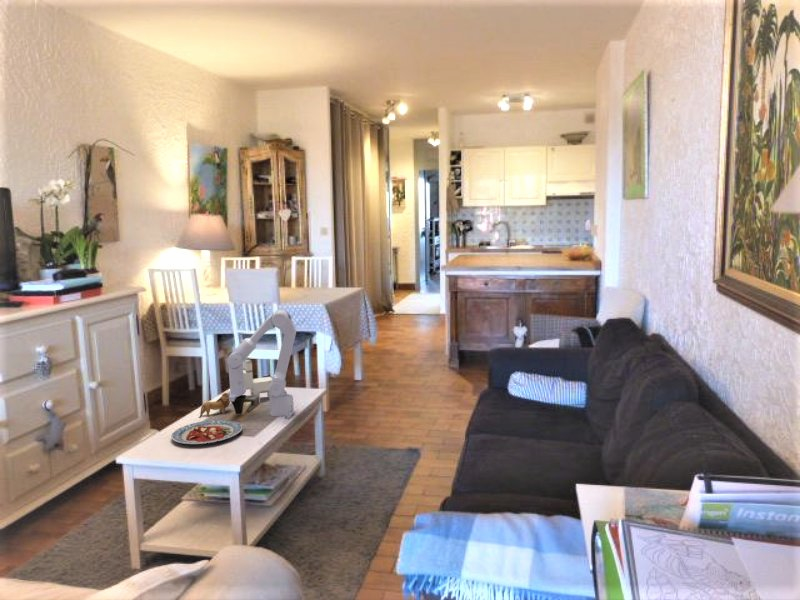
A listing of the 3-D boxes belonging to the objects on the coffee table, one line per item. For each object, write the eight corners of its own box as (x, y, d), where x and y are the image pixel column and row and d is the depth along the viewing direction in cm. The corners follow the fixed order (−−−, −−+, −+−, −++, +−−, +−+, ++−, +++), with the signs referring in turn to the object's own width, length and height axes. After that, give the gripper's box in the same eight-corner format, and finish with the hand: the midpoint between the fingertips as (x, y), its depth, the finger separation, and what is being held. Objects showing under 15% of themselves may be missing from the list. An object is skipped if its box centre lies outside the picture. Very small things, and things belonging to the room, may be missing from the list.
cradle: (262, 405, 272) (262, 395, 271) (244, 422, 250) (244, 411, 249) (242, 405, 273) (242, 395, 272) (223, 422, 251) (222, 411, 250)
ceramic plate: (158, 448, 224) (157, 440, 224) (191, 424, 250) (191, 417, 249) (225, 449, 221) (224, 441, 220) (252, 425, 246) (252, 418, 245)
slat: (253, 406, 268) (252, 400, 268) (243, 414, 257) (243, 409, 256) (246, 406, 269) (246, 400, 268) (236, 414, 257) (236, 409, 257)
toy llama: (282, 400, 278) (280, 357, 275) (243, 407, 270) (240, 362, 268) (278, 396, 284) (275, 354, 282) (239, 402, 277) (236, 358, 274)
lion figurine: (229, 410, 266) (227, 390, 264) (234, 413, 262) (233, 392, 260) (195, 418, 256) (194, 397, 255) (201, 421, 252) (199, 400, 251)
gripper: (233, 376, 261) (235, 408, 263) (220, 386, 247) (222, 419, 249) (249, 376, 261) (251, 408, 262) (237, 386, 246) (239, 419, 248)
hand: (238, 413), depth 256 cm, fingers closed
